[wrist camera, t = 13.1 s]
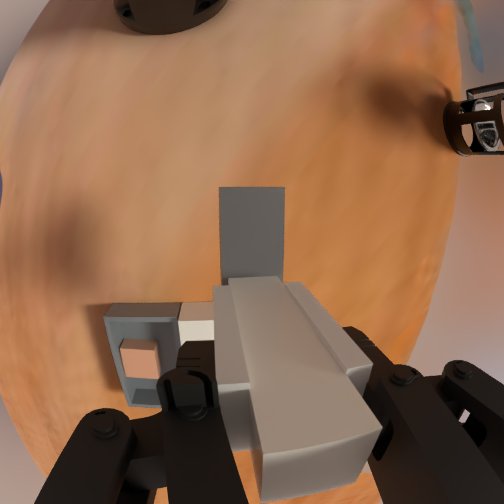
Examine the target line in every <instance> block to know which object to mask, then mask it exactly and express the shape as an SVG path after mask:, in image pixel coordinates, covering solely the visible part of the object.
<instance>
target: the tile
mask: <svg viewBox="0 0 504 504" xmlns="http://www.w3.org/2000/svg"><path fill="white" fill-rule="evenodd" d="M120 353H121V357H122V362H123V366H124V370H125V375H126V377H135V378H148V379H159V377H160V372H161V362H160V355H159V348H158V340H144V339H127V338H125V339H124V341H123V343H122V345H121V347H120Z"/></svg>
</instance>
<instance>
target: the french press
mask: <svg viewBox="0 0 504 504" xmlns="http://www.w3.org/2000/svg"><path fill="white" fill-rule="evenodd" d="M499 89H504V82H499V83H495V84H490V85H485V86H481V87H477V88H472V89H468V90H466V94H467V100H465V101H460V102H450V103H449V104H448V105H447V106H446V107H445V110H444V115H443V123H444V129H445V133H446V136H447V139H448V141H449V143H450V144H451V146H452V148H453V149H454V150H455V151H456V152H457V153H458V154H460V155H462V156H470V155H504V151H497V150H498V149H499V146H500V141H502V144H503V145H504V123H503V121H502V115H501V100H504V93H501V94H497V95H495V96H489V97H483V98H478V99H474V98H473V95H474V94H479V93H484V92H489V91H494V90H499ZM488 102H494V106H493V109H492V107H491V106H490V105H489V104H488ZM459 110H461V111H463V112H464V113H462V114H459ZM464 124H471V126H472V130H473V141H472V144H471V146H470V147H468V145H467V144H466V142H465V140H464V138H463V135H462V132H461V129H460V125H464Z"/></svg>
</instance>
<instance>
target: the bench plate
mask: <svg viewBox="0 0 504 504" xmlns="http://www.w3.org/2000/svg"><path fill="white" fill-rule="evenodd" d="M178 325H179V333H180V341H181V346H182V345H183V344H184V342H185V341H199V340H214V312H213V302H184V303H182V306H181V310H180V315H179V319H178Z"/></svg>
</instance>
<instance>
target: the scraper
mask: <svg viewBox="0 0 504 504" xmlns="http://www.w3.org/2000/svg"><path fill="white" fill-rule="evenodd" d="M284 208H285V187H219V232H220V268H221V286H225V285H231V291H232V296H233V301H234V306H235V311H236V317H237V322H238V327H239V332H240V337H241V342H242V347H243V351H244V356H245V361H246V366H247V371H248V375H249V380H250V389H249V414H250V451H251V457H252V462H253V467H254V472H255V478H256V483H257V488H258V493H259V498H260V502H261V503H266V502H273V501H280V500H286V499H291V498H297V497H302V496H307V495H311V494H316V493H320V492H324V491H328V490H331V489H335V488H339V487H342V486H346V485H349V484H352V483H355V481H356V480H357V478H358V476H359V474H360V472H361V470H362V469H363V467H364V465H365V463H366V461H367V459H368V457H369V455H370V453H371V451H372V449H373V447H374V445H375V443H376V441H377V439H378V436H379V434H380V432H381V430H382V426H381V424H380V423H379V421H378V420H377V418H376V417H375V415H374V414H373V413H372V411H371V410H370V408H369V407H368V405H367V404H366V402H365V401H364V399H363V398H362V397H361V395H360V394H359V392H358V391H357V389H356V388H355V386H354V385H353V384H352V382H351V381H350V379H349V378H348V376H347V375H345V373H344V372H343V370H342V369H341V367H340V366H339V365H338V363H337V362H336V360H335V359H334V357H333V356H332V354H331V353H330V351H329V350H328V349H327V347H326V346H325V344H324V343H323V341H322V340H321V339H320V337H319V336H318V334H317V333H316V331H315V330H314V328H313V327H312V326H311V324H310V323H309V321H308V320H307V318H306V317H305V316H304V314H303V313H302V311H301V310H300V308H299V307H298V305H297V304H296V303H295V301H294V300H293V298H292V297H291V295H290V294H289V293H288V291H287V290H286V288H285V287H284V285H283V259H284Z"/></svg>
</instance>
